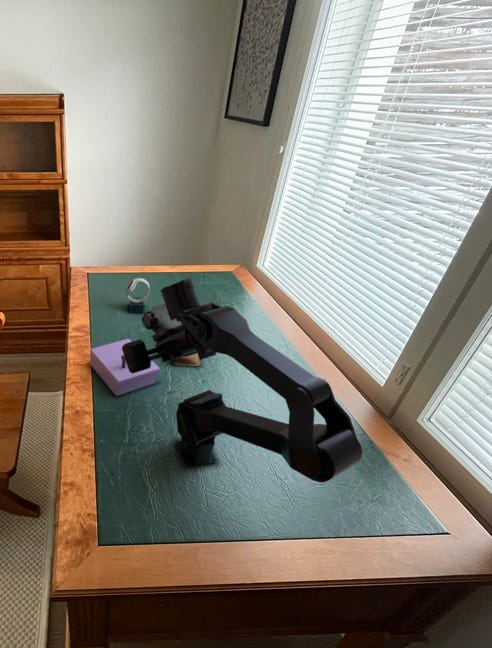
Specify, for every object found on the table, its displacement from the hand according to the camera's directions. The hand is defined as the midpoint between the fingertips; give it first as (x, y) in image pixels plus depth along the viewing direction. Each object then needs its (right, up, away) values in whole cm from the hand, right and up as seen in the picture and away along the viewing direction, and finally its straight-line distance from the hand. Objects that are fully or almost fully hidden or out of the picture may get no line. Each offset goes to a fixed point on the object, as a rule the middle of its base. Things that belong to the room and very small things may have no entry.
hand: (147, 355), depth 88 cm
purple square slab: (-4, -1, +11) cm, 12 cm away
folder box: (-5, -5, +14) cm, 15 cm away
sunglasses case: (+14, +2, +25) cm, 28 cm away
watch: (+2, +16, +43) cm, 46 cm away
